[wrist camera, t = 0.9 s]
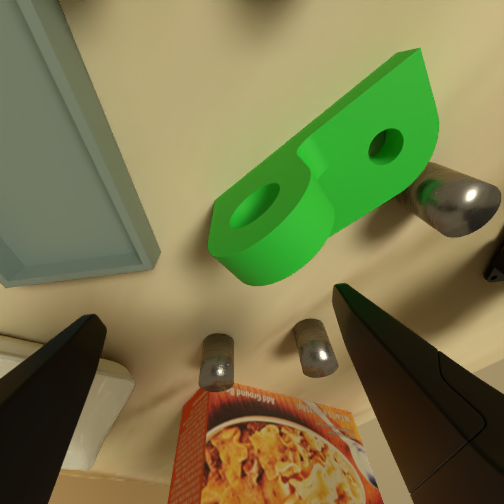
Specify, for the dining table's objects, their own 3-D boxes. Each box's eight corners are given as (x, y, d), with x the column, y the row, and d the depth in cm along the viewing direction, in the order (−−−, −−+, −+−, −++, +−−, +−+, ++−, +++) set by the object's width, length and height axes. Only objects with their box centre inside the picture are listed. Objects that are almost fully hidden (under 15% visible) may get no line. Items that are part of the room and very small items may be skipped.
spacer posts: (631, -357, 7) (1009, -781, 3) (390, 331, 24) (414, 369, 21) (-25, -245, 7) (-251, -534, 4) (207, 353, 25) (203, 394, 21)
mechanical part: (268, 256, 18) (287, 349, 12) (215, 198, 16) (200, 280, 9) (426, 153, 15) (581, 207, 8) (394, 53, 12) (595, 11, 5)
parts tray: (6, -126, 8) (-51, -180, 7) (161, 252, 17) (153, 269, 16) (-270, -82, 8) (-393, -123, 7) (27, 269, 18) (5, 288, 16)
